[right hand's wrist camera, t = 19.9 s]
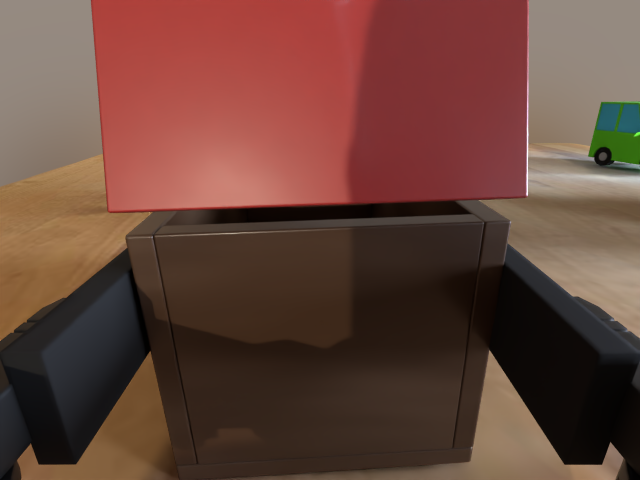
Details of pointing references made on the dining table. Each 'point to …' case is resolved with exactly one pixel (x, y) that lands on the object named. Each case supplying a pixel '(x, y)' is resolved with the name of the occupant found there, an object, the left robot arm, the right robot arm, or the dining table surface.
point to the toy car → (617, 133)
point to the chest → (319, 332)
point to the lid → (310, 102)
